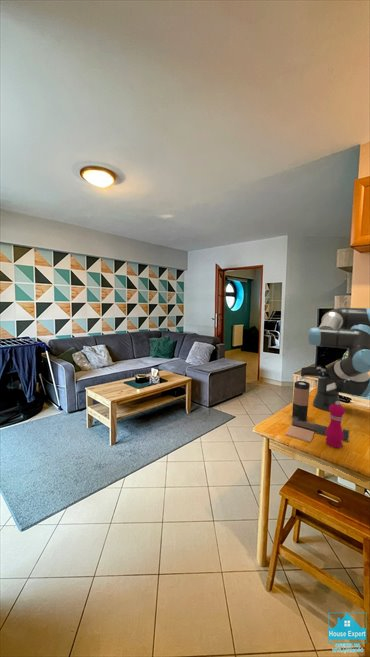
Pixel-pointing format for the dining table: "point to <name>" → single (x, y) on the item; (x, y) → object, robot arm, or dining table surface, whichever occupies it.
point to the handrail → (315, 427)
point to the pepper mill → (335, 426)
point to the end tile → (300, 433)
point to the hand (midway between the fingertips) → (313, 382)
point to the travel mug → (300, 400)
